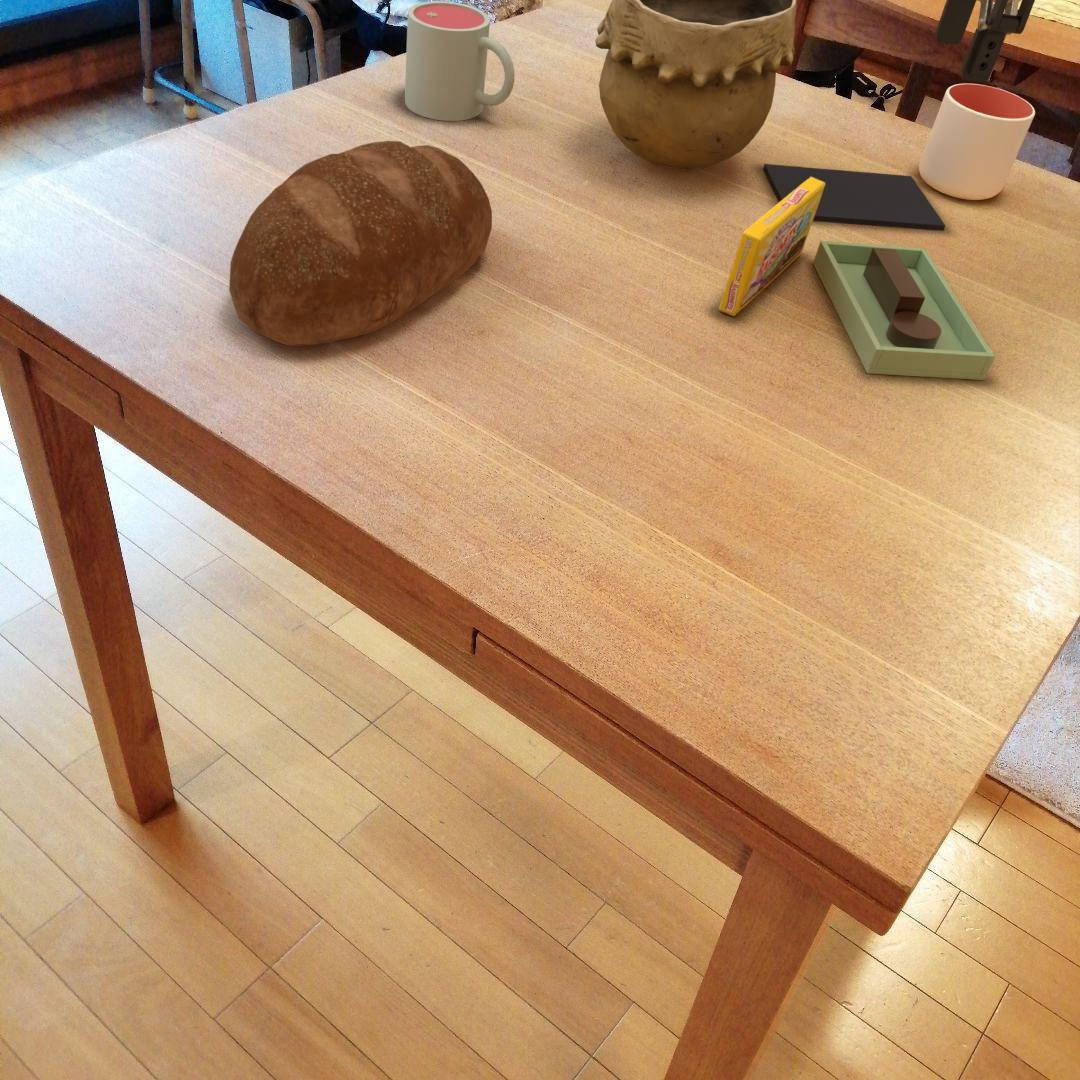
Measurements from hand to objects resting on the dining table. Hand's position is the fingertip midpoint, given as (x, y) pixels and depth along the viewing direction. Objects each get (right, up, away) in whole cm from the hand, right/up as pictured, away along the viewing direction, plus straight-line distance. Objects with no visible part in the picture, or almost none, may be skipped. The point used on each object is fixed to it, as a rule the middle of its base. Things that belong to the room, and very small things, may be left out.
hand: (959, 60), depth 90 cm
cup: (+15, +2, +40) cm, 43 cm away
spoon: (0, -18, +15) cm, 23 cm away
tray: (-1, -18, +15) cm, 24 cm away
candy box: (-13, -15, +17) cm, 26 cm away
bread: (-50, -16, +9) cm, 53 cm away
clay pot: (-20, +4, +35) cm, 40 cm away
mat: (+1, -1, +33) cm, 33 cm away
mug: (-44, +11, +38) cm, 59 cm away
